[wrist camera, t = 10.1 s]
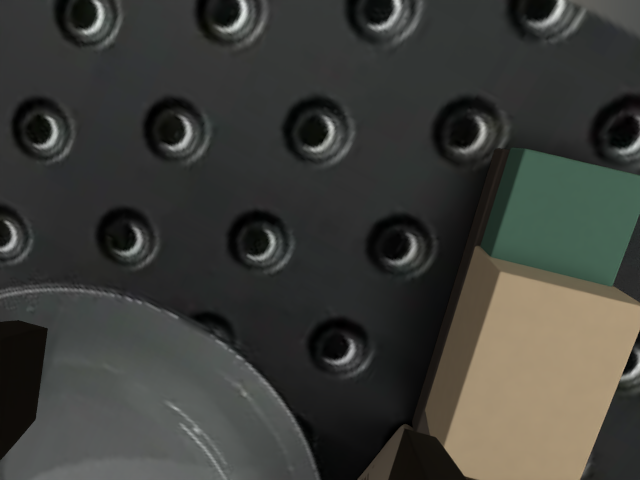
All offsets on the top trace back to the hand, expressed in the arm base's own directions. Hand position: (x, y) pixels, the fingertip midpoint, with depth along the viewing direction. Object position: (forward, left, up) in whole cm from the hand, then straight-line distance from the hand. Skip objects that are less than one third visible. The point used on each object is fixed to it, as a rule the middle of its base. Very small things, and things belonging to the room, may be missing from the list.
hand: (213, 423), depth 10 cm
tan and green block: (+1, -8, -10) cm, 13 cm away
